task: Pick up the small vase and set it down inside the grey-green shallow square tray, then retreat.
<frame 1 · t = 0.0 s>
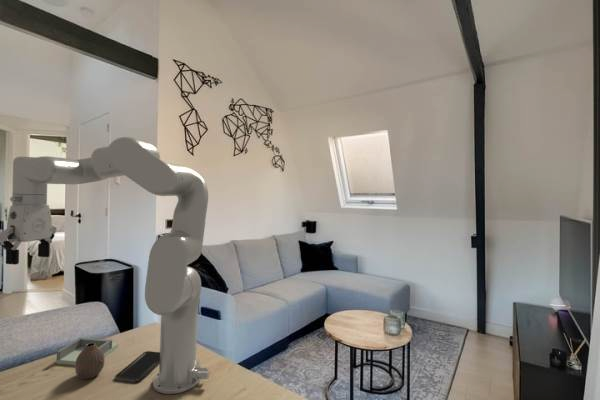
hand: (28, 260, 91), 31 cm above the table, tool pointing down, fingers open, 9 cm apart
grey-green shallow square tray: (88, 354, 99), on the table
phone: (142, 368, 94), on the table
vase: (89, 376, 89), on the table
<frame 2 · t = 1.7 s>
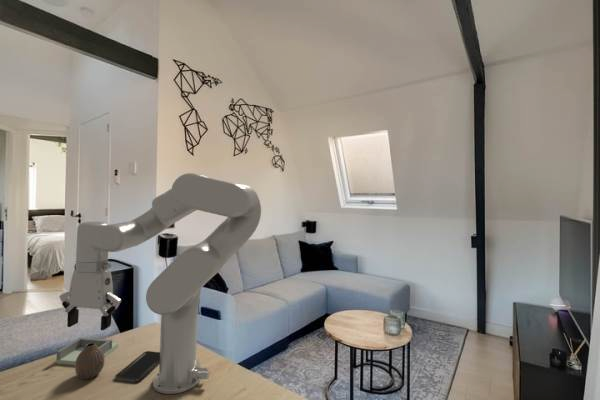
hand: (89, 326, 89), 14 cm above the table, tool pointing down, fingers open, 9 cm apart
nothing on the table moved.
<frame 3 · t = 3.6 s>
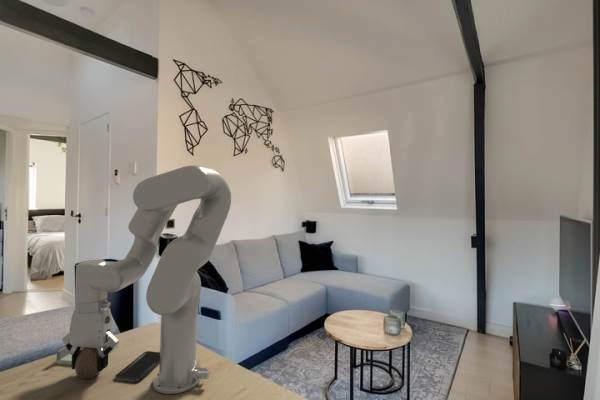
hand: (89, 367, 89), 2 cm above the table, tool pointing down, fingers closed on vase, 6 cm apart
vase: (89, 375, 89), on the table, touching gripper
everything else where it was.
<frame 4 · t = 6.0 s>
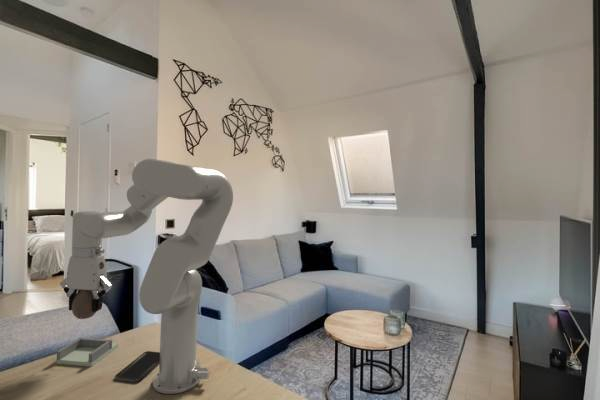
hand: (85, 309, 97), 15 cm above the table, tool pointing down, fingers closed on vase, 6 cm apart
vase: (85, 317, 97), point 13 cm above the table, touching gripper
everything else where it was.
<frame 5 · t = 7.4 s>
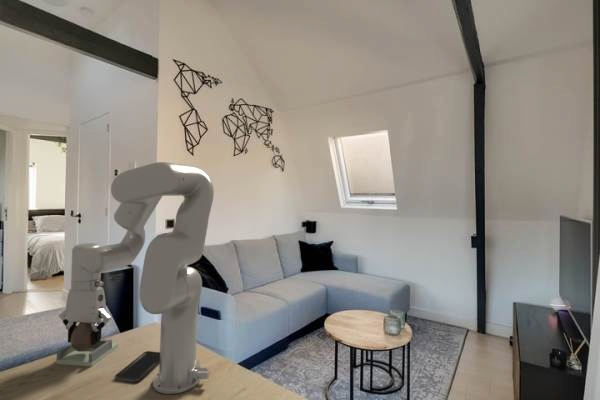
hand: (84, 341, 97), 5 cm above the table, tool pointing down, fingers closed on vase, 6 cm apart
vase: (84, 349, 97), point 3 cm above the table, touching gripper
everything else where it was.
when the fingers open (5 cm above the table, at t = 8.4 s): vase drops 1 cm, resting on grey-green shallow square tray.
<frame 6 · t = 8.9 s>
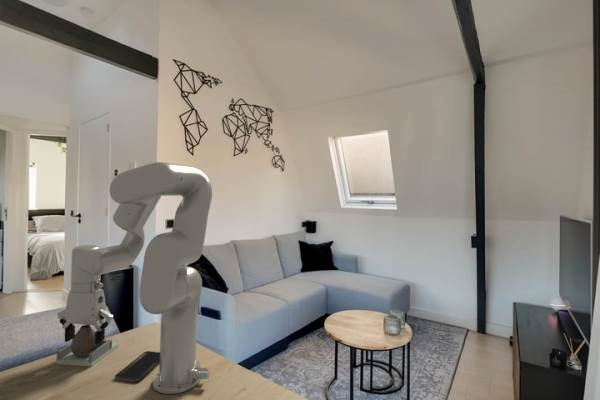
hand: (84, 341, 97), 5 cm above the table, tool pointing down, fingers open, 9 cm apart
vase: (84, 355, 97), point 1 cm above the table, touching grey-green shallow square tray
everything else where it was.
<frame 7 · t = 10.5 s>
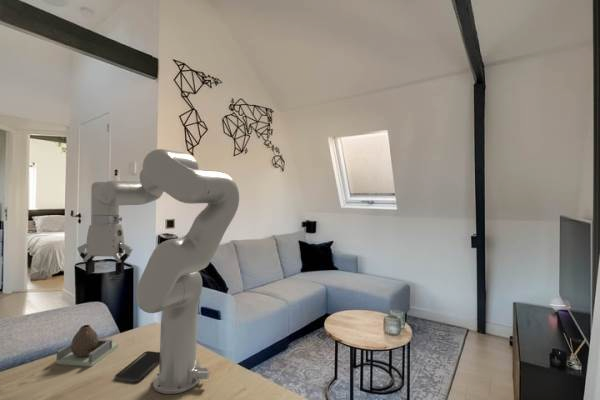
hand: (104, 273, 101), 25 cm above the table, tool pointing down, fingers open, 9 cm apart
nothing on the table moved.
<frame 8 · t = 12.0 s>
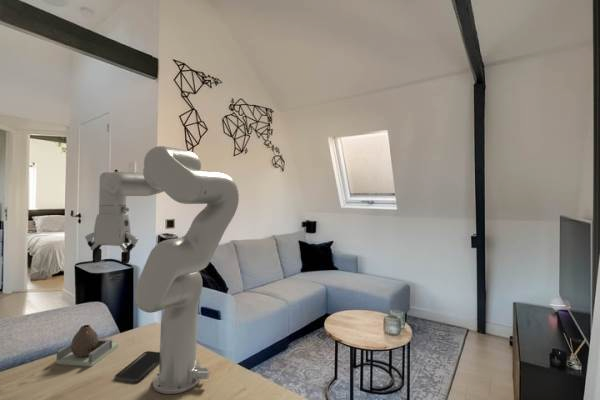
hand: (111, 262, 104), 28 cm above the table, tool pointing down, fingers open, 9 cm apart
nothing on the table moved.
at the end: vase 0.2 cm from the target spot on the grey-green shallow square tray, point 1.0 cm above the grey-green shallow square tray's base; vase tilted 0°; the gripper is holding nothing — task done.
